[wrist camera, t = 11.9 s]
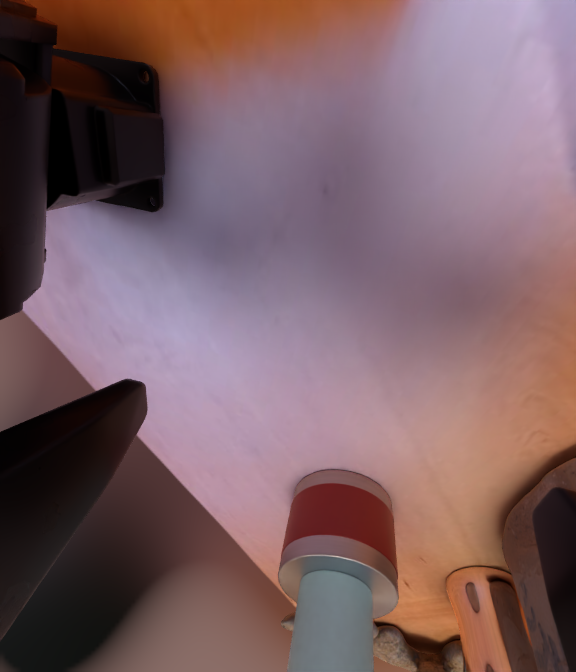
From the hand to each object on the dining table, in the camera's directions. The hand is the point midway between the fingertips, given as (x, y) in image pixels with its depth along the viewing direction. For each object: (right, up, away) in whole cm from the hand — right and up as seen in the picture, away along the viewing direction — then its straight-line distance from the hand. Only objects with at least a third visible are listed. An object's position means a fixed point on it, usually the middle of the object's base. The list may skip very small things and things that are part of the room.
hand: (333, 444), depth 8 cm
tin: (+3, -11, +21) cm, 24 cm away
